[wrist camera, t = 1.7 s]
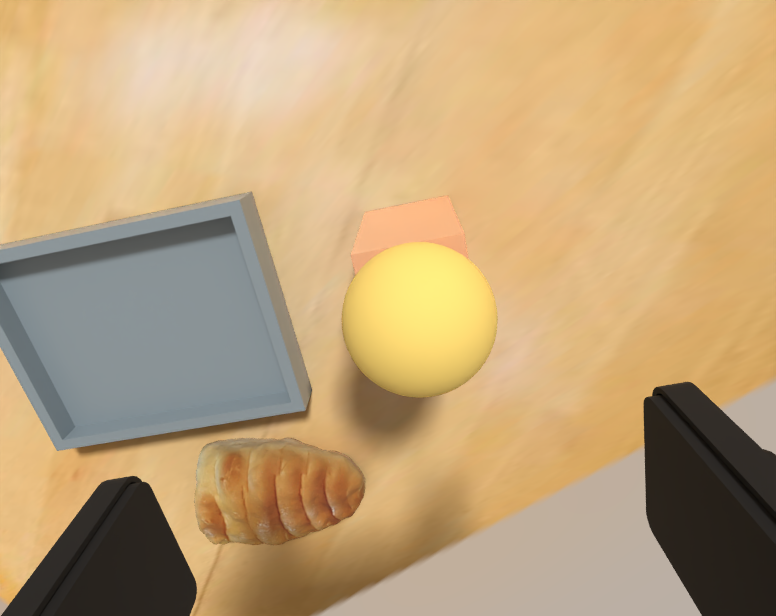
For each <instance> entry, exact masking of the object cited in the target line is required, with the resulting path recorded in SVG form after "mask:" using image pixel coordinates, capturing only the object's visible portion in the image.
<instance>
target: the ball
mask: <svg viewBox="0 0 776 616" xmlns="http://www.w3.org/2000/svg"><path fill="white" fill-rule="evenodd" d="M497 320H498V319H497V308H496V303H495V299H494V295H493V293H492V290H491V287H490V286H489V284H488V282H487V280H486V278H485V277H484V276H483V274H482V273H481V272H480V270H479V269H478V268H477V267H476V266H475V265H474V264H473V263H472V262H471V261H470V260H469V259H467V258H466V257H465V256H463V255H462V254H460V253H458V252H456V251H455V250H453V249H450V248H448V247H446V246H443V245H439V244H435V243H428V242H411V243H404V244H400V245H396V246H393V247H391V248H388V249H386V250H384V251H382V252H381V253H379V254H377V255H376V256H374V257H373V258H372V259H370V260H369V261H368V262H367V263H366V264H365V265H364V266H363V267H362V268H361V269H360V270H359V272H358V273H357V274H356V275H355V277H354V279H353V280H352V282H351V284H350V286H349V288H348V291H347V293H346V296H345V299H344V303H343V310H342V330H343V335H344V340H345V343H346V346H347V349H348V351H349V353H350V355H351V357H352V359H353V361H354V362H355V364H356V365H357V367H358V368H359V369H360V370H361V371H362V373H363V374H364V375H365V376H366V377H368V378H369V379H370V380H371V381H372V382H374V383H375V384H377V385H378V386H380V387H381V388H383V389H385V390H387V391H389V392H392V393H395V394H398V395H402V396H407V397H432V396H437V395H441V394H444V393H447V392H450V391H452V390H454V389H456V388H458V387H460V386H461V385H463V384H464V383H466V382H467V381H468V380H469V379H471V378H472V377H473V376H474V375H475V374H476V373H477V372H478V371H479V370H480V368H481V367H482V366H483V364H484V363H485V361H486V360H487V358H488V356H489V354H490V352H491V349H492V347H493V344H494V341H495V337H496V332H497Z"/></svg>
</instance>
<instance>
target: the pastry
mask: <svg viewBox="0 0 776 616" xmlns="http://www.w3.org/2000/svg"><path fill="white" fill-rule="evenodd" d="M196 481H197V484H196V491H195V498H194V503H195V510H196V517H197V521H198V525H199V529H200V531H202V532H203V533H204V534H205V535H206V537H207V538H208V539H209V541H210V542H212V543H213V544H227V543H229V542H237V543H244V544H252V545H259V544H263V543H265V544H270V545H280V544H282V543H284V542H286V541H289V540H292V539H295V538H299V537H303V536H305V535H307V534H309V533H310V532H315V531H319V530H321V529H324V528H326V527H328V526H330V525H334V524H337V523H339V522H340V521H341V520H343V519H345V518H348V517H350V516H352V515H353V514H354V512H355V510H356V509H357V508H358V506H359V505H360V503H361V500H362V498H363V496H364V492H365V478H364V475H363V473H362V472H361V470H360V469H359V468H358V466H357V465H356V464H355V463H354V462H353V461H352V460H351V459H350V458H349V457H348V456H346V455H344V454H342V453H339V452H337V451H327V450H322V449H319V448H317V447H315V446H312V445H307V444H304V443H302V442H300V441H298V440H296V439H292V438H284V439H281V440H277V439H255V438H240V439H228V440H223V441H216V442H213V443H209V444H207V445H205V446H204V447H203V449H202V450H201V453H200V455H199V459H198V464H197V470H196Z"/></svg>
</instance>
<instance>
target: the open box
mask: <svg viewBox="0 0 776 616" xmlns="http://www.w3.org/2000/svg"><path fill="white" fill-rule="evenodd" d="M411 242H428V243H435V244H439V245H443V246H446V247H448V248H450V249H453V250H455V251H456V252H458V253H460V254H462V255H463V256H465V257H466V258H467V259H468V254H467V247H466V241H465V234H464V231H463V229H462V227H461V224H460V222H459V220H458V217H457V215H456V213H455V210H454V208H453V206H452V203H451V201H450V199H449V196H443V197H438V198H433V199H428V200H423V201H418V202H413V203H408V204H403V205H398V206H393V207H389V208H384V209H379V210H374V211H369V212H365V213H364V216H363V219H362V222H361V225H360V228H359V231H358V234H357V237H356V241H355V244H354V247H353V250H352V253H351V258H352V262H353V266H354V270H355V275H356V274H357V273H358V272H359V270H360V269H361V268H362V267H363V266H364V265H365V264H366V263H367V262H368V261H369V260H370V259H372V258H373V257H374V256H376V255H377V254H379V253H381V252H382V251H384V250H386V249H388V248H391V247H393V246H396V245H400V244H404V243H411Z"/></svg>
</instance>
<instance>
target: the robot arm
mask: <svg viewBox="0 0 776 616" xmlns="http://www.w3.org/2000/svg"><path fill="white" fill-rule="evenodd" d="M644 441H645V478H646V479H645V480H646V514H647V519H648V522H649V525H650V528H651V530H652V532H653V534H654V536H655V538H656V539H657V541H658V543H659V544H660V546H661V548H662V549H663V551H664V553H665V554H666V556H667V558H668V559H669V561H670V563H671V564H672V566H673V568H674V569H675V571H676V573H677V575H678V576H679V578H680V580H681V581H682V583H683V584H684V586H685V588H686V589H687V591H688V593H689V595H690V596H691V598H692V599H693V601H694V603H695V604H696V606H697V608H698V610H699V611H700V613H701V614H702V616H776V455H775V454H773V453H772V452H770V451H767V450H764V449H761V448H760V447H759V445H757V444H756V443H755V442H754V441H753V440H752V439H751V438H750V437H749V436H748V435H747V434H746V433H745V432H744V431H743V430H742V429H741V428H739V426H737V425H736V424H735V423H734V422H733V421H732V420H731V419H730V418H729V417H728V416H727V415H726V414H725V413H724V412H723V411H722V410H721V409H720V408H719V407H717V406H716V405H715V404H714V403H713V402H712V401H711V400H710V399H709V398H708V397H707V396H706V395H705V394H704V393H703V392H702V391H701V390H700V389H699V388H698V387H696V386H695V385H694V384H693V383H691V382H684V383H678V384H672V385H666V386H660V387H656V388H655V389H654V390H653V394H652V396H651V397H646V398H645V400H644ZM196 594H197V586H196V581H195V578H194V576H193V574H192V572H191V570H190V568H189V566H188V564H187V562H186V560H185V558H184V555H183V553H182V551H181V549H180V547H179V545H178V543H177V541H176V539H175V537H174V535H173V532H172V530H171V528H170V526H169V524H168V522H167V520H166V518H165V516H164V514H163V512H162V509H161V507H160V505H159V503H158V501H157V499H156V497H155V495H154V493H153V491H152V489H151V487H150V485H149V484H148V483H146V482H142V481H141V479H139V478H138V477H136V476H130V477H124V478H118V479H112V480H107V481H104V482H102V483H101V484H100V485H99V486H98V487H97V489H96V490H95V491H94V493H93V494H92V495H91V497H90V498H89V499H88V501H87V502H86V503H85V505H84V506H83V507H82V509H81V510H80V511H79V513H78V514H77V515H76V517H75V518H74V519H73V521H72V522H71V523H70V525H69V526H68V527H67V529H66V530H65V531H64V533H63V534H62V535H61V536H60V538H59V539H58V540H57V542H56V543H55V544H54V546H53V547H52V548H51V550H50V551H49V552H48V554H47V555H46V556H45V558H44V559H43V560H42V562H41V563H40V564H39V566H38V567H37V568H36V570H35V571H34V572H33V574H32V575H31V576H30V578H29V579H28V580H27V582H26V583H25V584H24V586H23V587H22V588H21V590H20V591H19V592H18V594H17V595H16V596H15V598H14V599H13V600H12V602H11V603H10V604H9V606H8V607H7V609H6V610H5V611H4V612H3V614H2V615H1V616H190V613H191V610H192V608H193V605H194V603H195V599H196Z"/></svg>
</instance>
